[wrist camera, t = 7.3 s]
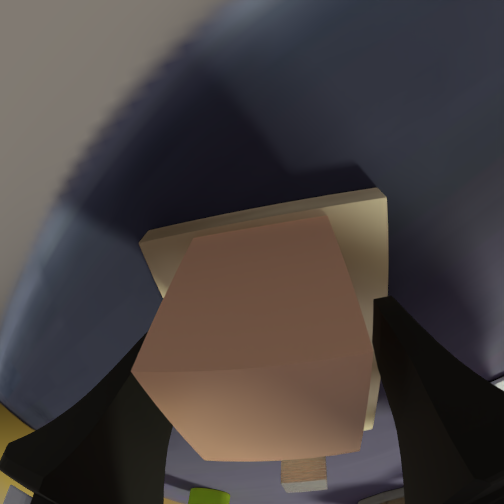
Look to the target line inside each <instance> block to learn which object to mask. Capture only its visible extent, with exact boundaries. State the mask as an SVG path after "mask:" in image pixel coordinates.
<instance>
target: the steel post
mask: <svg viewBox="0 0 504 504" xmlns="http://www.w3.org/2000/svg"><path fill="white" fill-rule="evenodd" d="M281 484H282V486H283V487H284V489H285V491H286V492H287V493H294V492H307V491H317V490H326V489H327V470H326V456H323V457H315V458H305V459H293V460H281Z"/></svg>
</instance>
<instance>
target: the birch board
mask: <svg viewBox="0 0 504 504" xmlns="http://www.w3.org/2000/svg"><path fill="white" fill-rule="evenodd" d="M326 215H327V216H328V218H329V221H330V224H331V226H332V229H333V231H334V234H335V237H336V239H337V242H338V245H339V247H340V250H341V253H342V256H343V258H344V261H345V264H346V267H347V270H348V273H349V276H350V278H351V281H352V284H353V287H354V290H355V293H356V296H357V299H358V302H359V305H360V309H361V312H362V315H363V318H364V321H365V325H366V328H367V331H368V334H369V338H370V341H371V345H372V348H373V344H372V334H373V299H376V298H382V297H387V296H388V214H387V197H386V196H385V195H384V194H383V193H382V192H381V191H380V190H379V189H378V188H370V189H363V190H357V191H350V192H344V193H338V194H332V195H326V196H320V197H314V198H308V199H302V200H296V201H291V202H285V203H280V204H274V205H269V206H263V207H258V208H253V209H248V210H243V211H237V212H232V213H227V214H222V215H218V216H213V217H208V218H203V219H198V220H194V221H189V222H184V223H180V224H175V225H171V226H166V227H162V228H157V229H153V230H148V232H147V233H146V234H145V235H144V237H143V238H142V239H141V240H140V242H139V245H140V248H141V250H142V253H143V255H144V257H145V259H146V262H147V264H148V266H149V269H150V271H151V273H152V275H153V278H154V280H155V282H156V284H157V286H158V288H159V291H160V293H161V295H162V297H163V298H164V296H165V294H166V292H167V290H168V288H169V286H170V284H171V282H172V280H173V278H174V276H175V273H176V271H177V269H178V267H179V265H180V263H181V261H182V259H183V257H184V255H185V253H186V251H187V249H188V247H189V245H190V243H191V241H192V239H193V238H196V237H202V236H207V235H213V234H218V233H224V232H230V231H235V230H241V229H247V228H253V227H259V226H265V225H271V224H277V223H283V222H289V221H295V220H301V219H307V218H313V217H320V216H326ZM380 379H381V377H380V374H379V370H378V367H377V362H376V358H375V353H374V348H373V362H372V372H371V381H370V389H369V397H368V404H367V411H366V418H365V424H364V430H363V431H365V430H370V429H372V428H373V423H374V417H375V412H376V406H377V399H378V393H379V386H380Z"/></svg>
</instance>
